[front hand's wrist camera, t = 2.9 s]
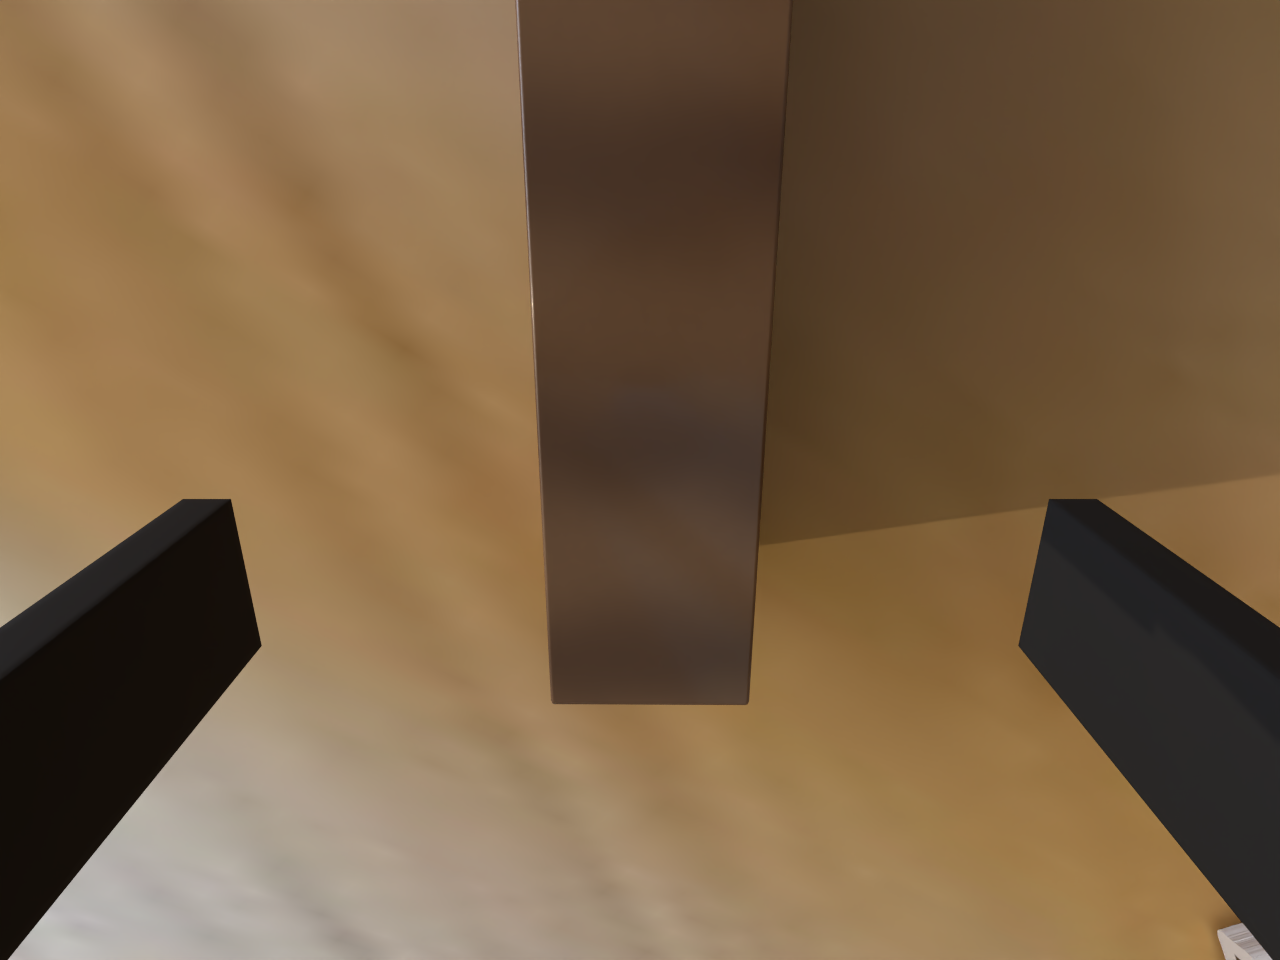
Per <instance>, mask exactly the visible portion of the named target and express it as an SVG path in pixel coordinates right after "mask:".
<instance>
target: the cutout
mask: <svg viewBox="0 0 1280 960" xmlns="http://www.w3.org/2000/svg"><path fill="white" fill-rule="evenodd" d="M1217 932H1218V938H1219V941H1220V943H1221V946H1222V949H1223V952H1224V956H1225V959H1226V960H1272V959H1271V957H1270V956H1269V955H1268V954H1267V953H1266V951H1265V950H1264V949H1263V948H1262V946H1261V945H1260V944H1259V943H1258V941H1257V940H1256V939H1255V938H1254V936H1253V935H1252V934H1251V933H1250V931H1249V930H1248V929H1247V928H1246V927H1245V925H1244V924H1243V923H1239V924H1236V925H1233V926H1229V927H1226V928H1222V929H1219V930H1217Z"/></svg>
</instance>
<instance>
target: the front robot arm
mask: <svg viewBox="0 0 1280 960" xmlns="http://www.w3.org/2000/svg"><path fill="white" fill-rule="evenodd" d="M260 647H261V641H260V636H259V631H258V627H257V622H256V617H255V612H254V607H253V603H252V598H251V593H250V588H249V584H248V579H247V574H246V569H245V565H244V560H243V555H242V550H241V545H240V541H239V536H238V531H237V526H236V522H235V517H234V512H233V507H232V503H231V499H183V500H181V501H180V502H178V503H177V504H175V505H174V506H173V507H171V508H170V509H168V510H167V511H166V512H164V513H163V514H161V515H160V516H158V517H157V518H156V519H154V520H153V521H151V522H150V523H148V524H147V525H146V526H144V527H143V528H141V529H140V530H139V531H137V532H136V533H134V534H133V535H131V536H130V537H129V538H127V539H126V540H124V541H123V542H121V543H120V544H119V545H117V546H116V547H114V548H113V549H112V550H110V551H109V552H107V553H106V554H104V555H103V556H102V557H100V558H99V559H97V560H96V561H94V562H93V563H92V564H90V565H89V566H87V567H86V568H84V569H83V570H82V571H80V572H79V573H77V574H76V575H75V576H73V577H72V578H70V579H69V580H67V581H66V582H65V583H63V584H62V585H60V586H59V587H57V588H56V589H55V590H53V591H52V592H50V593H49V594H48V595H46V596H45V597H43V598H42V599H40V600H39V601H38V602H36V603H35V604H33V605H32V606H30V607H29V608H28V609H26V610H25V611H23V612H22V613H21V614H19V615H18V616H16V617H15V618H13V619H12V620H11V621H9V622H8V623H6V624H5V625H3V626H2V627H1V628H0V960H8V959H9V957H10V956H11V955H12V954H13V952H14V951H15V950H16V949H17V948H18V946H19V945H20V944H21V943H22V941H23V940H24V939H25V938H26V936H27V935H28V934H29V933H30V931H31V930H32V929H33V928H34V927H35V925H36V924H37V923H38V922H39V920H40V919H41V918H42V917H43V915H44V914H45V913H46V912H47V910H48V909H49V908H50V907H51V906H52V904H53V903H54V902H55V901H56V899H57V898H58V897H59V896H60V894H61V893H62V892H63V891H64V889H65V888H66V887H67V886H68V884H69V883H70V882H71V881H72V880H73V878H74V877H75V876H76V875H77V873H78V872H79V871H80V870H81V868H82V867H83V866H84V865H85V863H86V862H87V861H88V860H89V859H90V857H91V856H92V855H93V854H94V852H95V851H96V850H97V849H98V847H99V846H100V845H101V844H102V842H103V841H104V840H105V839H106V838H107V836H108V835H109V834H110V833H111V831H112V830H113V829H114V828H115V826H116V825H117V824H118V823H119V821H120V820H121V819H122V818H123V816H124V815H125V814H126V813H127V812H128V810H129V809H130V808H131V807H132V805H133V804H134V803H135V802H136V800H137V799H138V798H139V797H140V795H141V794H142V793H143V792H144V791H145V789H146V788H147V787H148V786H149V784H150V783H151V782H152V781H153V779H154V778H155V777H156V776H157V774H158V773H159V772H160V771H161V769H162V768H163V767H164V766H165V765H166V763H167V762H168V761H169V760H170V758H171V757H172V756H173V755H174V753H175V752H176V751H177V750H178V748H179V747H180V746H181V745H182V744H183V742H184V741H185V740H186V739H187V737H188V736H189V735H190V734H191V732H192V731H193V730H194V729H195V727H196V726H197V725H198V724H199V723H200V721H201V720H202V719H203V718H204V716H205V715H206V714H207V713H208V711H209V710H210V709H211V708H212V706H213V705H214V704H215V703H216V701H217V700H218V699H219V698H220V697H221V695H222V694H223V693H224V692H225V690H226V689H227V688H228V687H229V685H230V684H231V683H232V682H233V680H234V679H235V678H236V677H237V676H238V674H239V673H240V672H241V671H242V669H243V668H244V667H245V666H246V664H247V663H248V662H249V661H250V659H251V658H252V657H253V656H254V654H255V653H256V652H257V651H258V650H259V648H260ZM1019 647H1020V648H1021V650H1022V651H1023V652H1024V653H1025V654H1026V656H1027V657H1028V658H1029V659H1030V661H1031V662H1032V663H1033V664H1034V666H1035V667H1036V668H1037V669H1038V671H1039V672H1040V673H1041V674H1042V676H1043V677H1044V678H1045V679H1046V680H1047V682H1048V683H1049V684H1050V685H1051V687H1052V688H1053V689H1054V690H1055V692H1056V693H1057V694H1058V695H1059V697H1060V698H1061V699H1062V700H1063V701H1064V703H1065V704H1066V705H1067V706H1068V708H1069V709H1070V710H1071V711H1072V713H1073V714H1074V715H1075V716H1076V718H1077V719H1078V720H1079V721H1080V723H1081V724H1082V725H1083V726H1084V727H1085V729H1086V730H1087V731H1088V732H1089V734H1090V735H1091V736H1092V737H1093V739H1094V740H1095V741H1096V742H1097V744H1098V745H1099V746H1100V747H1101V748H1102V750H1103V751H1104V752H1105V753H1106V755H1107V756H1108V757H1109V758H1110V760H1111V761H1112V762H1113V763H1114V765H1115V766H1116V767H1117V768H1118V769H1119V771H1120V772H1121V773H1122V774H1123V776H1124V777H1125V778H1126V779H1127V781H1128V782H1129V783H1130V784H1131V786H1132V787H1133V788H1134V789H1135V791H1136V792H1137V793H1138V794H1139V795H1140V797H1141V798H1142V799H1143V800H1144V802H1145V803H1146V804H1147V805H1148V807H1149V808H1150V809H1151V810H1152V812H1153V813H1154V814H1155V815H1156V816H1157V818H1158V819H1159V820H1160V821H1161V823H1162V824H1163V825H1164V826H1165V828H1166V829H1167V830H1168V831H1169V833H1170V834H1171V835H1172V836H1173V838H1174V839H1175V840H1176V841H1177V842H1178V844H1179V845H1180V846H1181V847H1182V849H1183V850H1184V851H1185V852H1186V854H1187V855H1188V856H1189V857H1190V859H1191V860H1192V861H1193V862H1194V863H1195V865H1196V866H1197V867H1198V868H1199V870H1200V871H1201V872H1202V873H1203V875H1204V876H1205V877H1206V878H1207V880H1208V881H1209V882H1210V883H1211V884H1212V886H1213V887H1214V888H1215V889H1216V891H1217V892H1218V893H1219V894H1220V896H1221V897H1222V898H1223V899H1224V901H1225V902H1226V903H1227V904H1228V906H1229V907H1230V908H1231V909H1232V910H1233V912H1234V913H1235V914H1236V915H1237V917H1238V918H1239V919H1240V920H1241V922H1242V923H1243V924H1244V925H1245V927H1246V928H1247V929H1248V930H1249V931H1250V933H1251V934H1252V935H1253V936H1254V938H1255V939H1256V940H1257V941H1258V943H1259V944H1260V945H1261V946H1262V948H1263V949H1264V950H1265V951H1266V953H1267V954H1268V955H1269V956H1270V957H1271V959H1272V960H1280V628H1279V627H1278V626H1277V625H1275V624H1274V623H1272V622H1271V621H1269V620H1268V619H1267V618H1265V617H1264V616H1262V615H1261V614H1259V613H1258V612H1257V611H1255V610H1254V609H1252V608H1251V607H1250V606H1248V605H1247V604H1245V603H1244V602H1242V601H1241V600H1240V599H1238V598H1237V597H1235V596H1234V595H1232V594H1231V593H1230V592H1228V591H1227V590H1225V589H1224V588H1223V587H1221V586H1220V585H1218V584H1217V583H1215V582H1214V581H1213V580H1211V579H1210V578H1208V577H1207V576H1205V575H1204V574H1203V573H1201V572H1200V571H1198V570H1197V569H1196V568H1194V567H1193V566H1191V565H1190V564H1188V563H1187V562H1186V561H1184V560H1183V559H1181V558H1180V557H1178V556H1177V555H1176V554H1174V553H1173V552H1171V551H1170V550H1168V549H1167V548H1166V547H1164V546H1163V545H1161V544H1160V543H1159V542H1157V541H1156V540H1154V539H1153V538H1151V537H1150V536H1149V535H1147V534H1146V533H1144V532H1143V531H1141V530H1140V529H1139V528H1137V527H1136V526H1134V525H1133V524H1132V523H1130V522H1129V521H1127V520H1126V519H1124V518H1123V517H1122V516H1120V515H1119V514H1117V513H1116V512H1114V511H1113V510H1112V509H1110V508H1109V507H1107V506H1106V505H1105V504H1103V503H1102V502H1100V501H1099V500H1097V499H1049V503H1048V507H1047V512H1046V517H1045V522H1044V526H1043V531H1042V536H1041V541H1040V545H1039V550H1038V555H1037V560H1036V565H1035V569H1034V574H1033V579H1032V584H1031V588H1030V593H1029V598H1028V603H1027V607H1026V612H1025V617H1024V622H1023V627H1022V631H1021V636H1020V641H1019Z"/></svg>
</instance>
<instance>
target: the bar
mask: <svg viewBox="0 0 1280 960" xmlns="http://www.w3.org/2000/svg"><path fill="white" fill-rule="evenodd" d="M515 4H516V23H517V43H518V62H519V82H520V102H521V121H522V141H523V160H524V180H525V199H526V219H527V238H528V258H529V277H530V297H531V317H532V336H533V356H534V375H535V395H536V414H537V434H538V453H539V473H540V493H541V512H542V532H543V551H544V571H545V590H546V610H547V629H548V649H549V668H550V688H551V701H552V703H553V704H660V705H747V704H748V702H749V692H750V676H751V660H752V644H753V628H754V612H755V596H756V580H757V565H758V549H759V533H760V517H761V501H762V485H763V469H764V453H765V437H766V421H767V405H768V389H769V373H770V357H771V341H772V326H773V310H774V294H775V278H776V262H777V246H778V230H779V214H780V198H781V182H782V166H783V150H784V134H785V118H786V103H787V87H788V71H789V55H790V39H791V23H792V7H793V0H515Z"/></svg>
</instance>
